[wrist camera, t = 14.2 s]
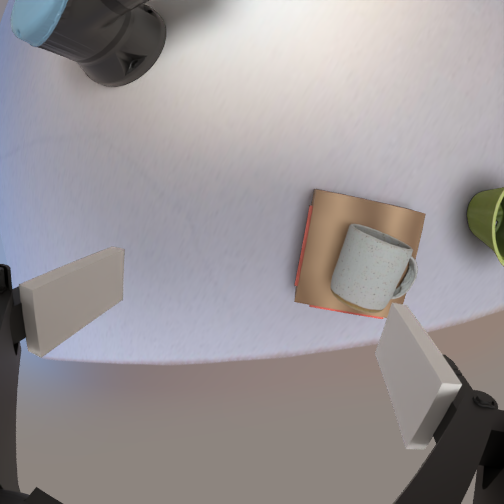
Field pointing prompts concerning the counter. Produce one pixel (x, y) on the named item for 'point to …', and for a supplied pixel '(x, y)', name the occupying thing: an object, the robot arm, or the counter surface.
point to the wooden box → (332, 239)
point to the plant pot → (488, 219)
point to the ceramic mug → (371, 269)
